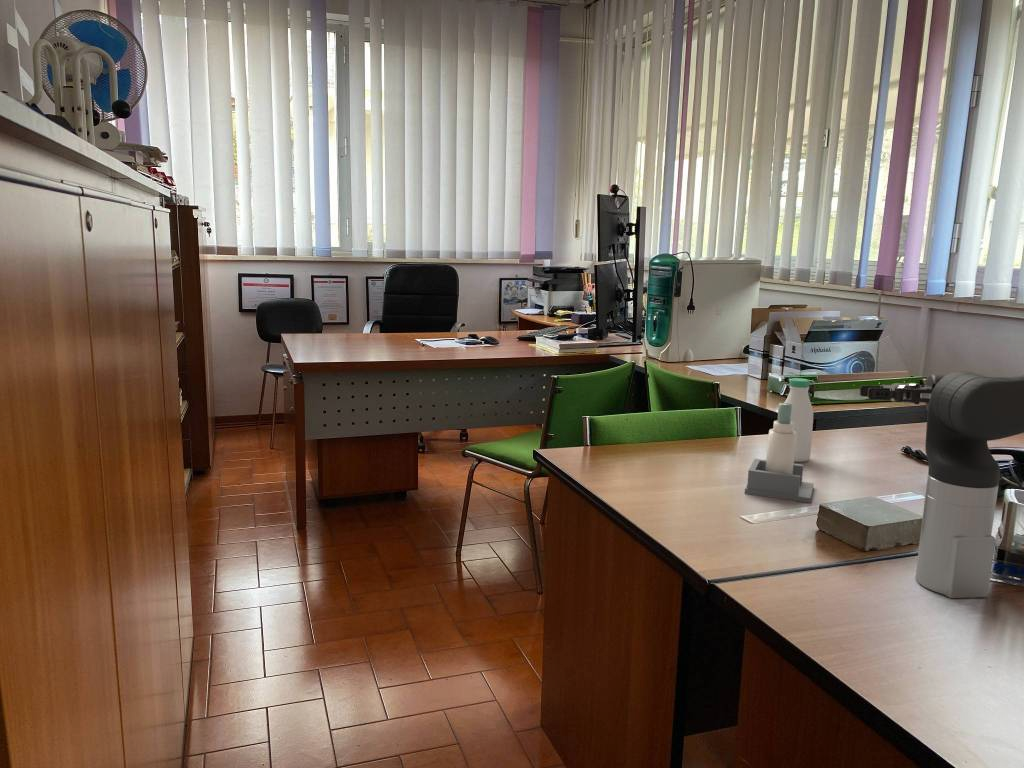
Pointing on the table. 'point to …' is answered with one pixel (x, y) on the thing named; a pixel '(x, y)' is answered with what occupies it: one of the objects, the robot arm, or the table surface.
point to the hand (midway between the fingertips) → (864, 392)
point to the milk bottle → (801, 417)
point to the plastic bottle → (781, 442)
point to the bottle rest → (778, 483)
